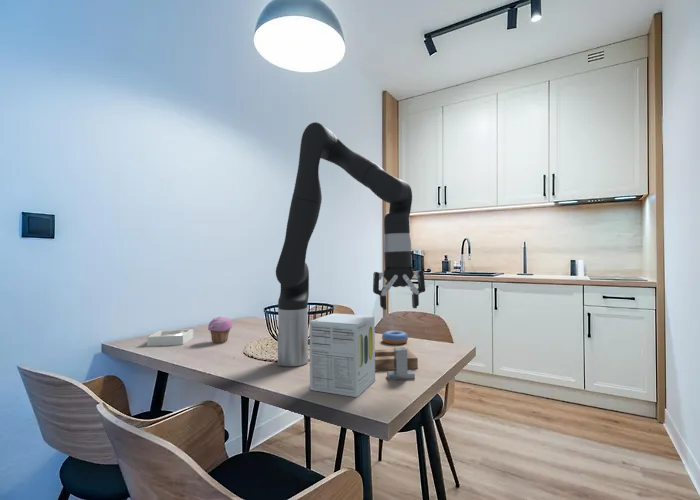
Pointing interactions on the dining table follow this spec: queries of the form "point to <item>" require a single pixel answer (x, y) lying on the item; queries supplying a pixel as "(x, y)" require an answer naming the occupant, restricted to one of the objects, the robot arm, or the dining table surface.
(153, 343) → the tray
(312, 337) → the supplement box
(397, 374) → the grey metal t-block
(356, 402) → the dining table surface
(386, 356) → the frame
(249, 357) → the dining table surface
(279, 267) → the robot arm
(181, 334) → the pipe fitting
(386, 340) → the doughnut
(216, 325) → the cupcake
